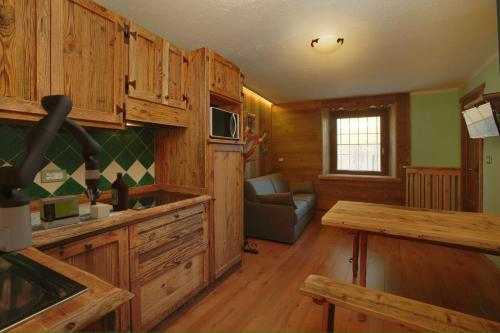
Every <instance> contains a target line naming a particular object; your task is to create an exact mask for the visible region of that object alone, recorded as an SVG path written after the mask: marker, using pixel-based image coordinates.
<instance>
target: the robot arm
mask: <svg viewBox="0 0 500 333" xmlns="http://www.w3.org/2000/svg"><path fill="white" fill-rule="evenodd" d="M40 104H41V107H42V109H43V110H44V112H45V113H47V114H46V115H44V116H43V117H42V118H39V119H38V120H37V121H35V122H34V123H33V124H32V125H31V126H30V127H29V128H28V130H27V131H26V133H25V134H24V137H23V139H22V140H23V141H22V143H23V147H24V150H25V151H24V152H25V154H24V155H25V156H24V158H23V159H22V161H21V163H20V164H19V165H2V166H0V251H1V252H5V253H9V252H14V251H19V250H24V249H27V248H29V247H31V246H32V245H33V244H34V242H33V240H34V239H33V230H32V228H33V227H32V213H31V212H32V209H31V198H30V197H29V196H27V195H25V194H23V193H21V192H19V190H20V189H21V190H22V189H27V188H29V187H30V186H31V185H32V184H33V183H34V181H35V180H36V179H35V178H36V177H37V174H38V172H39V169H40V166H41V165H42V162H43V159H44V157H45V155H46V153H47V151H48V150H49V148H50V146H51V144H52V142H53V140H54V139H55V137H56V134H57V133H58V131H59V129H60V128H61V127H62V128H63V129H64V130H66V131H67V132H68V133H69V134H70V136H71V137H72V139H73V140H74V141H75V142H76V143H77V144H78V145H79V146H81V147H80V153H81V157H82V159H83V162H84V185H85V186H86V189H85V190H83V193H84V194H85V196H86V197H87V199H88V200H90V206H93V205H97V200H100V197H101V195H102V193H103V191H102V190H100V187H99V186H100V185H101V175H100V174H101V172H100V163H99V160H96V159H94V158H93V157H96V156H97V157H98V156H100V155H101V154H102V151H103V150H102V146H101V145H100V144H99V143H98V142H96V141H95V139H93V138H92V137H91V136H90V135H89V134H88V132H87V130H86V129H85V128H84V127H83V126H81V125H80V124H78V123H77V122H75V121H73V120H72V119H70V118H69V117H68V116H69V115H70V114H71V112H72V111H73V100H72V99H71V97H70V96H68V95H65V94H49V95H44V96H43V97H42V98H41V100H40Z"/></svg>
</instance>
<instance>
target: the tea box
mask: <svg viewBox="0 0 500 333" xmlns="http://www.w3.org/2000/svg"><path fill="white" fill-rule="evenodd" d="M38 205H39V206H38V207H39V217H40V218H39V221H40V226H41V227H42V228H43V229H44V228H45V230H48V229H53V228H59V227H63V226H69V225H73V224H77V223H80V222H81V220H80V207H79V206H80V205H79V196H77V195H74V194H68V195H61V196H60V195H59V196H52V197H45V198H44V197H43V198H39V199H38Z"/></svg>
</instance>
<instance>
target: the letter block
mask: <svg viewBox="0 0 500 333" xmlns="http://www.w3.org/2000/svg"><path fill="white" fill-rule="evenodd" d="M89 215H90V216H89V217H90V219H95V220H101V219H105V218H108V217H110V216H111V215H110V204H107V203H106V204H105V203H99V204H96V205H93V206H91V205H90V206H89Z"/></svg>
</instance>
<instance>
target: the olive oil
mask: <svg viewBox="0 0 500 333" xmlns="http://www.w3.org/2000/svg"><path fill="white" fill-rule="evenodd" d="M110 193H111V204H112V211H113V212H123V210H124V211H128V210H129V209H130V208H129V206H130V204H129V203H130V202H129V201H130V200H129V199H130V197H129V196H130V185H129V183H128V182H127V181H126V180H125V178H123V172H121V171H120V172H116V179H115V180H114V181H113V182H112V183H111V184H110Z"/></svg>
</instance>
